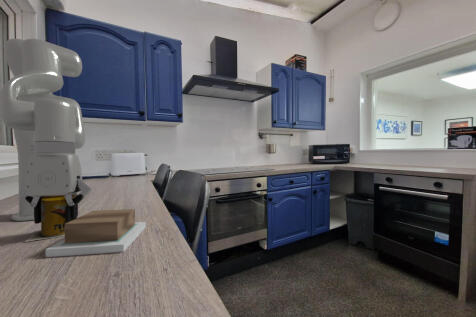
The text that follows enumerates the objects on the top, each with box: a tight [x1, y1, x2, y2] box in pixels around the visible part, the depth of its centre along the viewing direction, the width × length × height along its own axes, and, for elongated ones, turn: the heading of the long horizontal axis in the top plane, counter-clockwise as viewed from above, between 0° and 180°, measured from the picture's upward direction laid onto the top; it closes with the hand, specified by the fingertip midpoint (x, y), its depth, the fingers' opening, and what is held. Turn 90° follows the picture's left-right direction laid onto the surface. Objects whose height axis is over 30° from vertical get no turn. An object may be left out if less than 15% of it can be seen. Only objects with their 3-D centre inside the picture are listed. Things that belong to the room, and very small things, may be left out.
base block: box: [64, 208, 136, 244], centre depth 46 cm, size 10×10×4 cm
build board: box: [45, 221, 147, 258], centre depth 46 cm, size 14×14×2 cm
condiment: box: [24, 196, 68, 243], centre depth 49 cm, size 7×8×12 cm
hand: (56, 220), depth 49 cm, fingers closed on condiment, 6 cm apart
